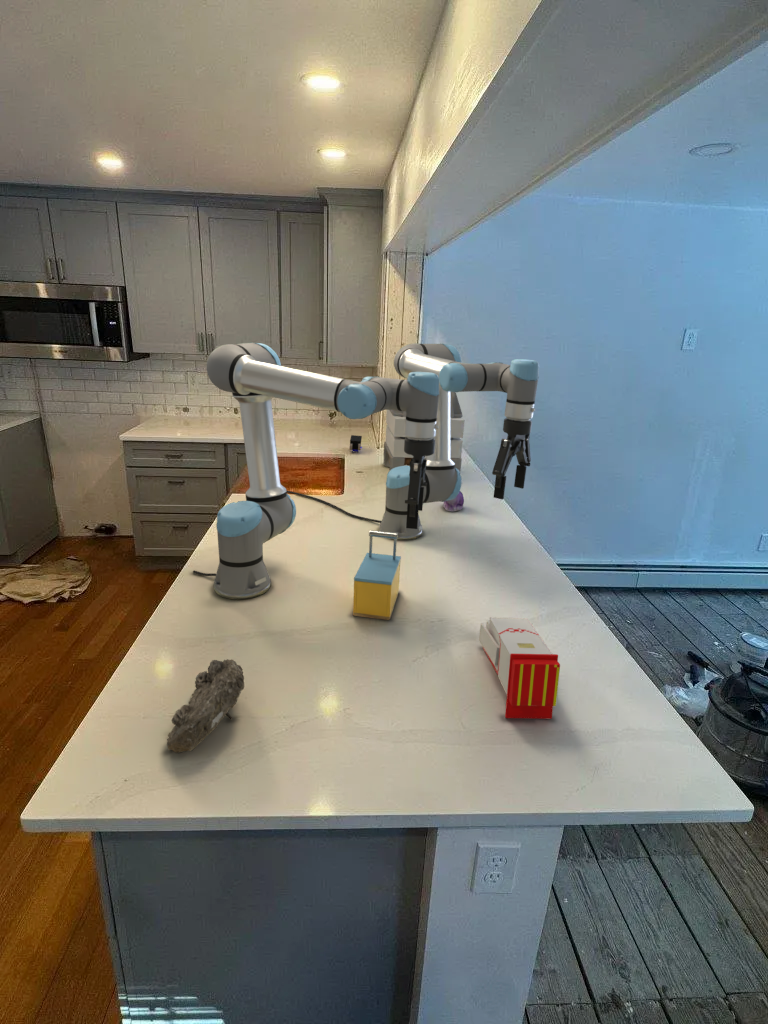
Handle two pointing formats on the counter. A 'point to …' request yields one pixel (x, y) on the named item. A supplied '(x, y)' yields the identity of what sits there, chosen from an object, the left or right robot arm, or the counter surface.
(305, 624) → the counter surface
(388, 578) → the lid
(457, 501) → the figurine
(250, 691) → the counter surface
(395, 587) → the chest
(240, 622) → the counter surface
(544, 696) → the toy
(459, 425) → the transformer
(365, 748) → the counter surface
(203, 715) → the fossil
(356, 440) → the figurine character
